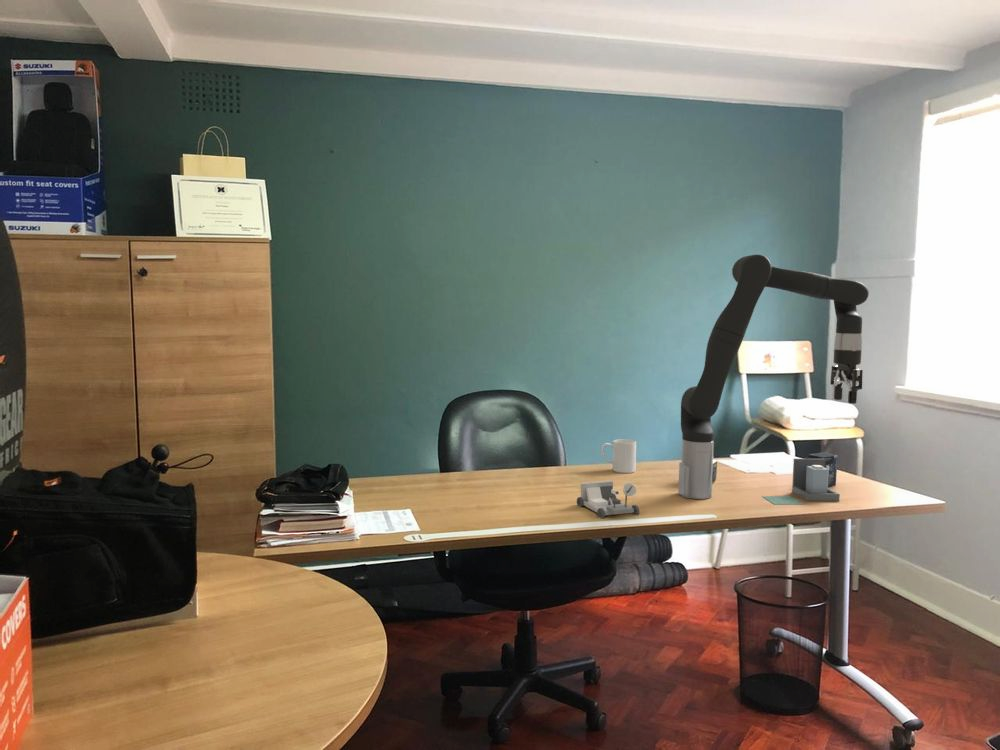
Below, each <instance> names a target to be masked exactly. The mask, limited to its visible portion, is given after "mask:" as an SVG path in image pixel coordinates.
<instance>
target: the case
mask: <svg viewBox="0 0 1000 750" xmlns="http://www.w3.org/2000/svg"><path fill="white" fill-rule="evenodd" d="M812 465H821V466H823V467H824V468H825V459H809V458H793V465H792V466H793V467H792V486H791V487H792V488H791V493H792V494H794V495H796V496H798V497H800V498H801V499H803V500H805V501H807V502H840V497H841V496H840V493H838V492H836V491H834V490H832V489H830V488H829V487H828V485H827V493H808V492H806V491H805V490H806V471H807V466H812ZM826 469H828V473H829V466H826Z"/></svg>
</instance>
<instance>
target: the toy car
mask: <svg viewBox="0 0 1000 750" xmlns="http://www.w3.org/2000/svg"><path fill="white" fill-rule="evenodd" d="M622 492H623V494H624V495H625V499H624V501H625V502H622V500H621V499H618V498H617V496H616V495H619V494H620V493H619V490H618V489H615V488H614V481H613V480H603V481H591V482H581V483H580V496H579V497H577V498H576V505H577V506H578V507H580V508H583V507H586V508H588V509H589V510H592V511H594V512H595V513H596V514H597V515H596V516H597V517H598V518H600V519H605V516H610V515H611V516H612V515H619V514H620V515H621V514H630V513H631V514H633V515H634V516H639V514H640V507H639V506H638V505H637V504H633V505H632V506H629V505H628V503H627V502H628V497H633V496H635V495H636V494H637V492H638V490H637V487H636V486H635V485H634V484H633V483H630V482H626V483H624V484H623V485H622Z"/></svg>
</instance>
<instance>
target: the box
mask: <svg viewBox="0 0 1000 750" xmlns="http://www.w3.org/2000/svg"><path fill="white" fill-rule="evenodd" d="M808 459H825V468H826V466H829V473H828V488H830V487H835V486H837V474H838V473H837V472H838V454H833V453H829V452H824V451H822V452H818V453H817V452H816V453H809V454H808Z"/></svg>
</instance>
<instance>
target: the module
mask: <svg viewBox="0 0 1000 750" xmlns="http://www.w3.org/2000/svg"><path fill="white" fill-rule="evenodd" d="M827 485H828V469H826V468H824V467H823V466H821V465H812V466H807V471H806V490H805V491H806V492H808V493H827Z"/></svg>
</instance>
